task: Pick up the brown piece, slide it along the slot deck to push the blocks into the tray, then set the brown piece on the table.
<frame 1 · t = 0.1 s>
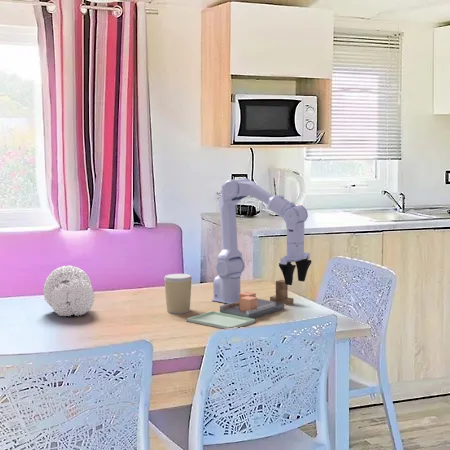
hand: (295, 282, 250), 10 cm above the table, fingers open, 7 cm apart
brown piece: (281, 303, 265), on the table
cauliflower: (73, 313, 252), on the table
coffee cup: (178, 311, 254), on the table
block a: (247, 305, 253), point 2 cm above the table, touching slot deck
block b: (248, 309, 247), point 2 cm above the table, touching slot deck
tray: (221, 321, 239), on the table
slot deck: (252, 311, 252), on the table
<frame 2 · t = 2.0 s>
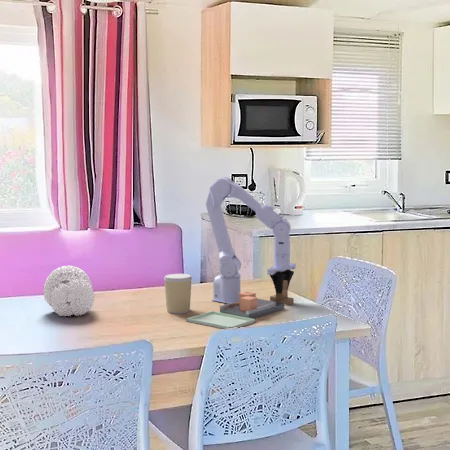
hand: (281, 291, 265), 4 cm above the table, fingers closed on brown piece, 3 cm apart
brown piece: (281, 302, 265), on the table, touching gripper
everything else where it was.
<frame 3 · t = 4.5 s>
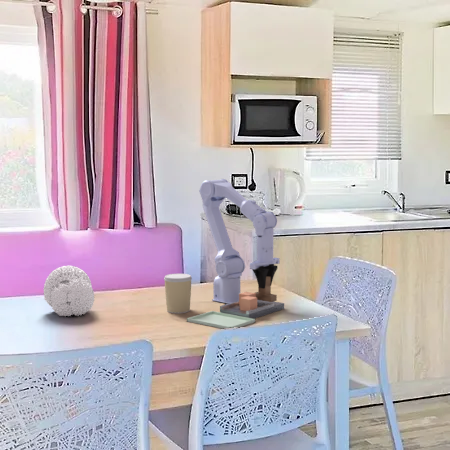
hand: (264, 287, 256), 7 cm above the table, fingers closed on brown piece, 3 cm apart
brown piece: (264, 299, 257), point 3 cm above the table, touching gripper
everything else where it was.
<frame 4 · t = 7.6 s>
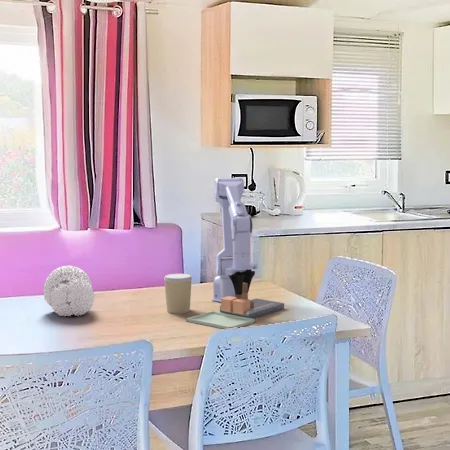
hand: (241, 293, 247), 7 cm above the table, fingers closed on brown piece, 3 cm apart
brown piece: (241, 306, 247), point 3 cm above the table, touching gripper
block a: (229, 309, 246), point 2 cm above the table
block b: (241, 312, 243), point 2 cm above the table
everything else where it was.
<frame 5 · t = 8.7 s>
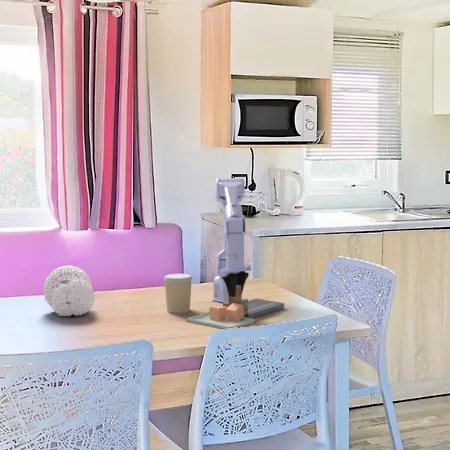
hand: (235, 295, 244), 7 cm above the table, fingers closed on brown piece, 3 cm apart
brown piece: (235, 309, 245), point 2 cm above the table, touching gripper
block a: (222, 311, 243), point 2 cm above the table, tilted 90°, touching tray
block b: (236, 317, 241), point 1 cm above the table, tilted 19°, touching tray
everything else where it was.
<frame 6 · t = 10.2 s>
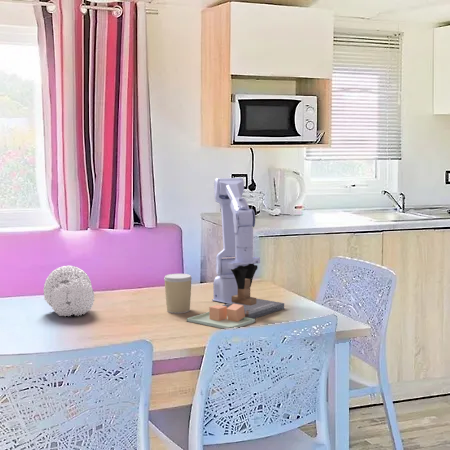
hand: (244, 287, 246), 9 cm above the table, fingers closed on brown piece, 3 cm apart
brown piece: (243, 302, 246), point 4 cm above the table, touching gripper
block b: (236, 318, 241), point 1 cm above the table, tilted 14°, touching tray
everything else where it was.
when the fingers open (5 cm above the table, at t = 12.9 s): brown piece stays where it is, on the table.
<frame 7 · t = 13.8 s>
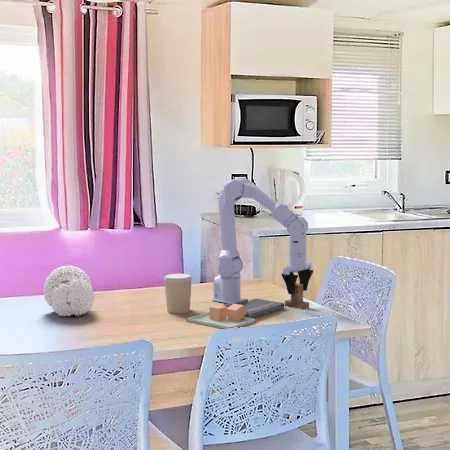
hand: (297, 292, 258), 5 cm above the table, fingers open, 7 cm apart
brown piece: (296, 307, 259), on the table
everything else where it was.
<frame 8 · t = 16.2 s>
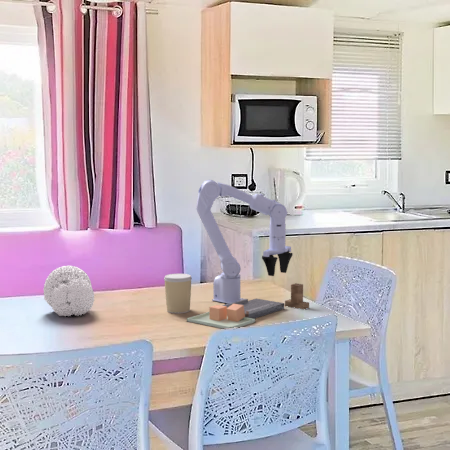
hand: (277, 274, 269), 9 cm above the table, fingers open, 7 cm apart
nothing on the table moved.
at the end: block a inside the target area on the tray (4.5 cm from its centre), point 2.2 cm above the tray's base; block b inside the target area on the tray (5.3 cm from its centre), point 0.7 cm above the tray's base; brown piece on the table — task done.
